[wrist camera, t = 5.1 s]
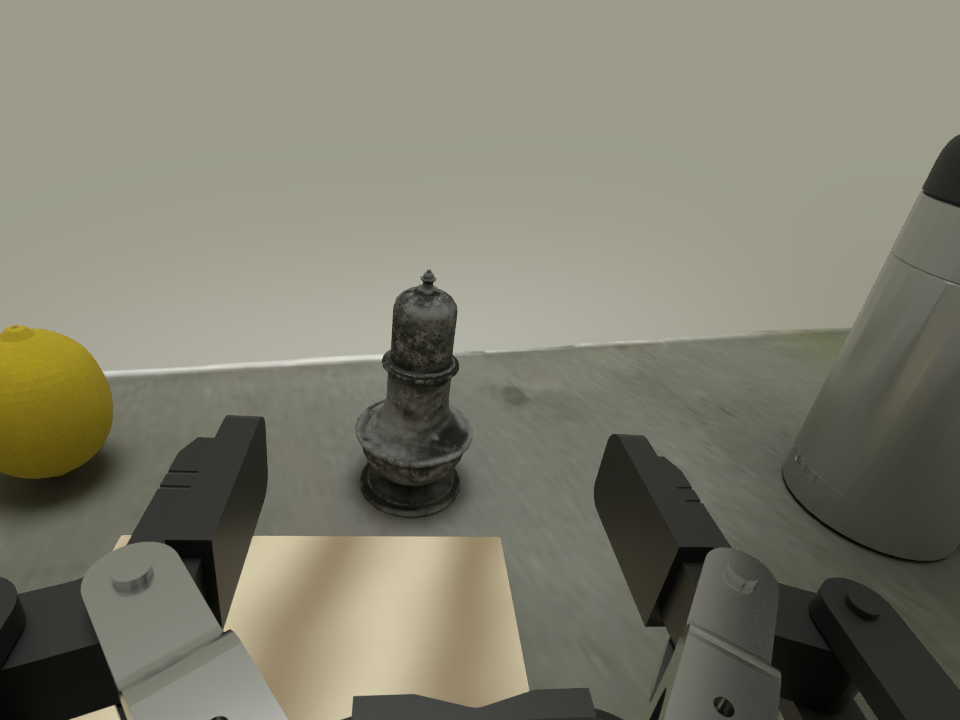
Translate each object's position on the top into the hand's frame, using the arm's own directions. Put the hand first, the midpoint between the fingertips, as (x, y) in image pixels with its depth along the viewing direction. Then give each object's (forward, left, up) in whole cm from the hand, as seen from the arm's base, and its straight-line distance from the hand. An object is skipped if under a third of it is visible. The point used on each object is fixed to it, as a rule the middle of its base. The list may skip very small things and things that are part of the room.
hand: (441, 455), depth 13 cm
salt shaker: (0, -13, -12) cm, 18 cm away
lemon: (+17, -13, -12) cm, 24 cm away
